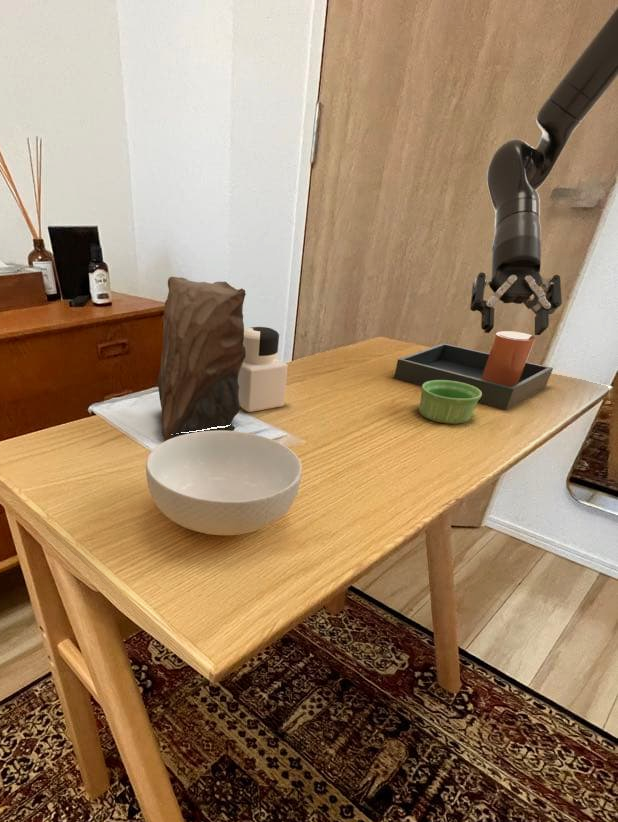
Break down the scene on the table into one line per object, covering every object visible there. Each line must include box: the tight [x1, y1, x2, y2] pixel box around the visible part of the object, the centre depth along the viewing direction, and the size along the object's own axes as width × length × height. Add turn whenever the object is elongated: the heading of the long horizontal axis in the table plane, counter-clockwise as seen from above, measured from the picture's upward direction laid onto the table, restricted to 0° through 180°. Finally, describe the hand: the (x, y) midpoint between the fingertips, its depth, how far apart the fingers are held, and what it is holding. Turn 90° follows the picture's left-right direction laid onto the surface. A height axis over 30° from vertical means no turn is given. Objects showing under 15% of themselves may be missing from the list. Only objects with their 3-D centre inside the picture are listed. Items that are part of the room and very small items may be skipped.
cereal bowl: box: [145, 430, 303, 536], centre depth 55 cm, size 17×17×7 cm
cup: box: [481, 330, 536, 387], centre depth 88 cm, size 6×6×9 cm
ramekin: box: [418, 380, 482, 425], centre depth 80 cm, size 9×9×4 cm
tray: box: [393, 342, 554, 411], centre depth 93 cm, size 18×22×4 cm
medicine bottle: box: [238, 326, 288, 413], centre depth 81 cm, size 7×7×12 cm
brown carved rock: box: [157, 276, 247, 442], centre depth 72 cm, size 13×13×20 cm
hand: (514, 331), depth 87 cm, fingers open, 8 cm apart
